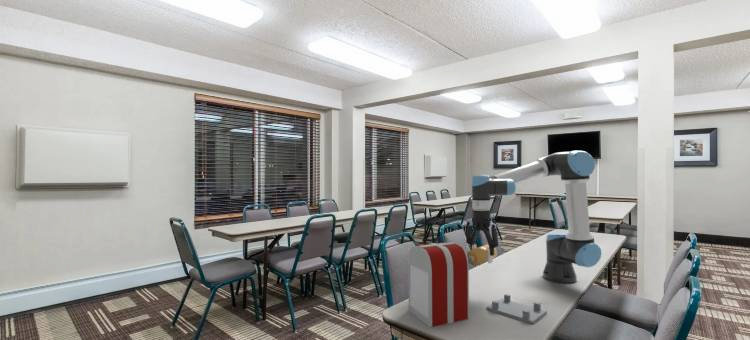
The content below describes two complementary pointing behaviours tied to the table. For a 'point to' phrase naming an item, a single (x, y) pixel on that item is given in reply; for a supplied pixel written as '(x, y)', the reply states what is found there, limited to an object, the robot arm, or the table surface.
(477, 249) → the amber bottle
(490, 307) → the u rest
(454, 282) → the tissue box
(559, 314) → the table surface
